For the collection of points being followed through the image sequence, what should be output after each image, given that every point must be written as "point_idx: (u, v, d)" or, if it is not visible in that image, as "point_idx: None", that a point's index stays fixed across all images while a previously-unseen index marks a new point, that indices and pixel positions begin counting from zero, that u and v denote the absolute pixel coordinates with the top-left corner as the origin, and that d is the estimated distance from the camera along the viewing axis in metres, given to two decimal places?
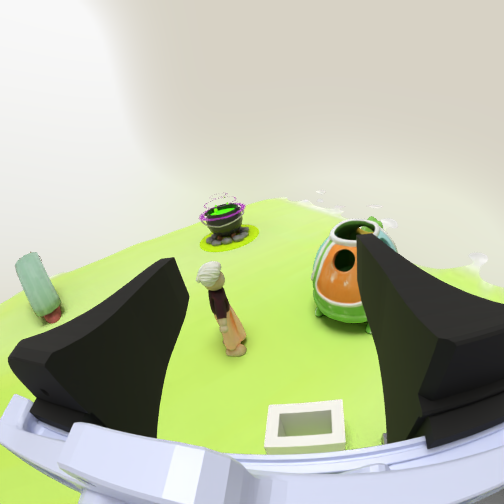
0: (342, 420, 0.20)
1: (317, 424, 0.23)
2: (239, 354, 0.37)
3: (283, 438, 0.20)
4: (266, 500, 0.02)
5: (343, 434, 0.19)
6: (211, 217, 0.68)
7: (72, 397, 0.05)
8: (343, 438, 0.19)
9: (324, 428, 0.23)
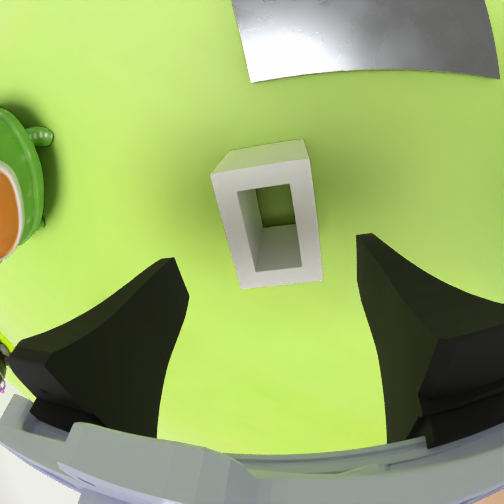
0: (259, 168, 0.13)
1: (248, 197, 0.16)
2: None
3: (304, 258, 0.15)
4: (266, 500, 0.02)
5: (292, 163, 0.12)
6: None
7: (71, 397, 0.05)
8: (301, 162, 0.12)
9: None
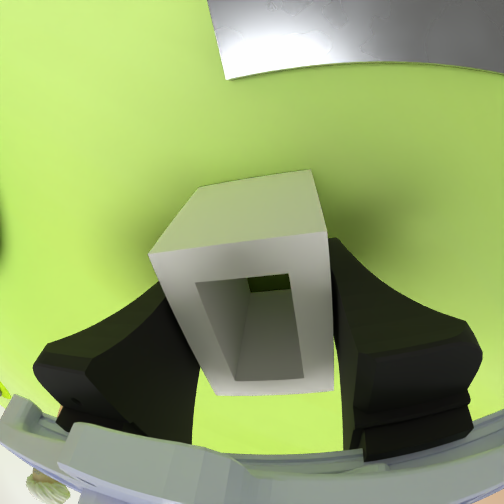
0: (233, 247, 0.07)
1: None
2: None
3: (308, 369, 0.09)
4: (266, 500, 0.02)
5: (293, 239, 0.07)
6: None
7: (113, 406, 0.05)
8: (311, 238, 0.07)
9: None
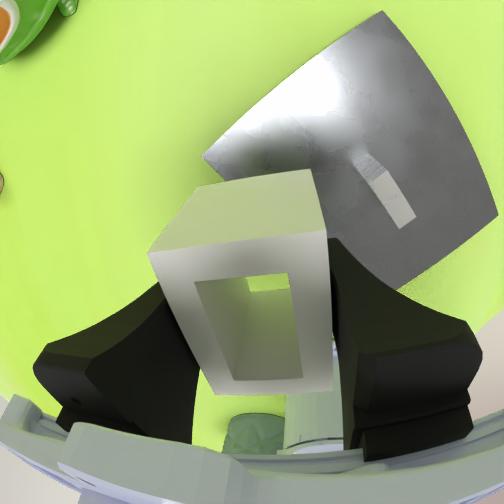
0: (232, 246, 0.07)
1: None
2: (1, 185, 0.20)
3: (307, 368, 0.09)
4: (266, 500, 0.02)
5: (292, 238, 0.07)
6: None
7: (113, 406, 0.05)
8: (310, 237, 0.07)
9: None
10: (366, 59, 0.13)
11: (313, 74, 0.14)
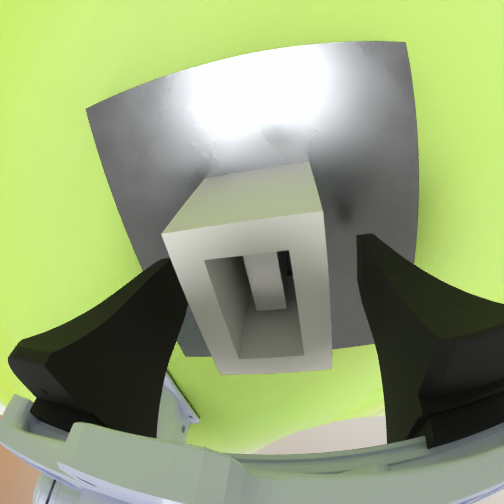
0: (239, 226, 0.08)
1: None
2: None
3: (308, 345, 0.10)
4: (266, 500, 0.02)
5: (293, 219, 0.07)
6: None
7: (71, 396, 0.05)
8: (309, 218, 0.07)
9: None
10: (342, 85, 0.10)
11: (259, 69, 0.10)
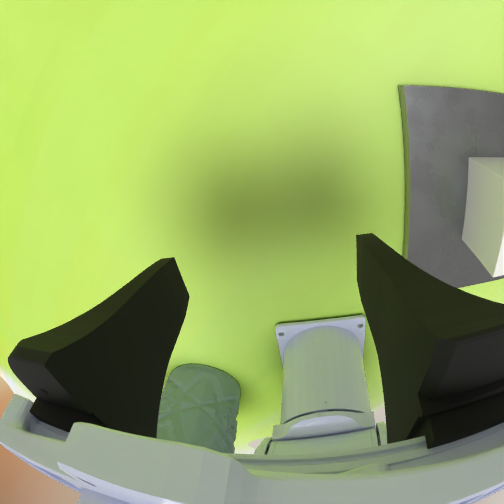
0: None
1: None
2: None
3: None
4: (266, 500, 0.02)
5: None
6: None
7: (72, 397, 0.05)
8: None
9: None
10: None
11: (499, 103, 0.13)
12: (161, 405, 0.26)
